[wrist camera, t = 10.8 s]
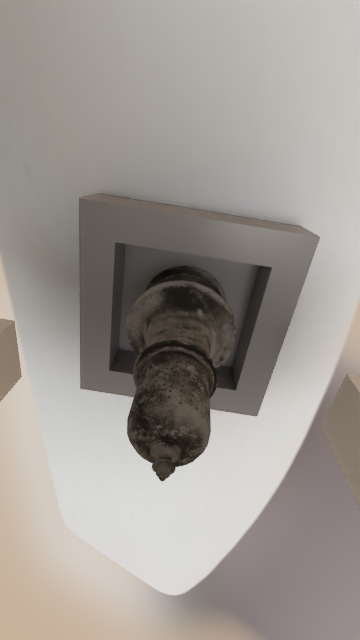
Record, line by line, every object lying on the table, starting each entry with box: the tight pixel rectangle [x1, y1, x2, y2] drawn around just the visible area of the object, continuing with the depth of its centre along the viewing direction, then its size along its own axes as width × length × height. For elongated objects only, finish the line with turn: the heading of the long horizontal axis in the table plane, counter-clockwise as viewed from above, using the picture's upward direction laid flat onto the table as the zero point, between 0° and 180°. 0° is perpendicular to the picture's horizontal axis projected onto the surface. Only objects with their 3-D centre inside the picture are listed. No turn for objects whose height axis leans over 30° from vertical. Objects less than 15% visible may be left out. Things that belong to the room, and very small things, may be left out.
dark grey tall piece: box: [126, 266, 237, 481], centre depth 14 cm, size 6×6×12 cm
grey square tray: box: [79, 194, 320, 416], centre depth 18 cm, size 12×12×3 cm
